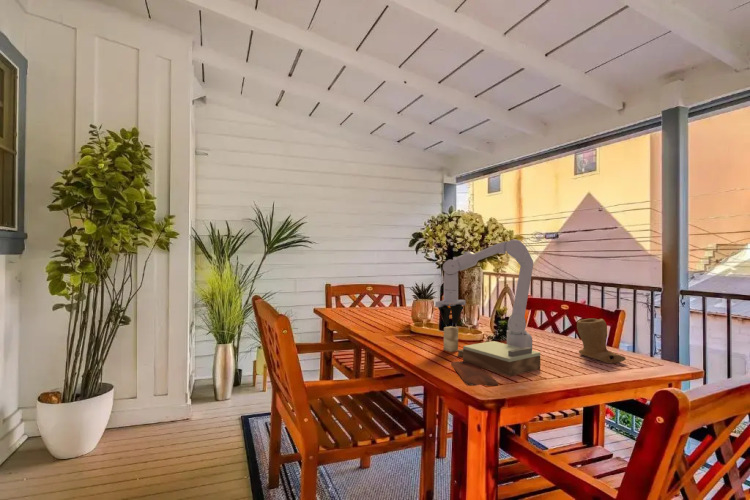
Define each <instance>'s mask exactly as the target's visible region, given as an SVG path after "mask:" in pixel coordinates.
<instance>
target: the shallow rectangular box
mask: <svg viewBox="0 0 750 500" xmlns="http://www.w3.org/2000/svg"><path fill="white" fill-rule="evenodd" d="M457 356H458V357H462V361H464V362H468V363H472V364H475V365H477V366H479V367H481V368H482V369H483V370H488V371H490V372H493V373H497V374H500V375H503V376H507V377H514V376H517V375H521V374H522V375H523V374H526V373H529V372H534V371H537V370H538V371H539V370H541V355H540V356H535V357H531V358H526V359H521V360H517V361H512V362H507V361H504V360H500V359H497V358H494V357H490V356H487V355H483V354H480V353H476V352H473V351H469V350H466V349H463V348H462V349H458V351H457Z"/></svg>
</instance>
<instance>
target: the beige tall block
mask: <svg viewBox="0 0 750 500" xmlns="http://www.w3.org/2000/svg"><path fill="white" fill-rule="evenodd" d="M443 350H444V351H447V352H450V353H453V352H458V350H459V328H458V327H456V326H451V325H450V326H445V327H443Z"/></svg>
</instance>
